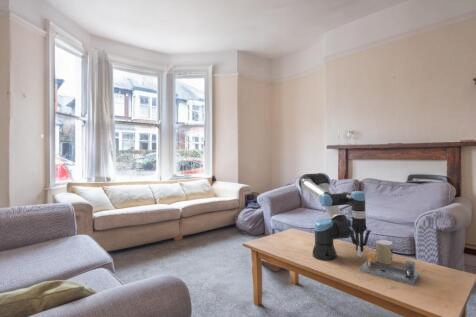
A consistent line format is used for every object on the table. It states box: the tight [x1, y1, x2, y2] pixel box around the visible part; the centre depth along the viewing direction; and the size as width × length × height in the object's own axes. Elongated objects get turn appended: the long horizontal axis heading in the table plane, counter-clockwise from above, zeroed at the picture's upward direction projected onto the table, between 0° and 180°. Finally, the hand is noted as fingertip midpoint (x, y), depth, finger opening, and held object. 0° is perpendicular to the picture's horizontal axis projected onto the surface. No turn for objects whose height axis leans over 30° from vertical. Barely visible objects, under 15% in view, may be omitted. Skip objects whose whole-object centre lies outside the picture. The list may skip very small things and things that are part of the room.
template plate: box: [359, 259, 419, 286], centre depth 147 cm, size 26×13×8 cm, turn 48°
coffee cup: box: [375, 239, 394, 265], centre depth 162 cm, size 9×9×12 cm
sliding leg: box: [366, 252, 378, 267], centre depth 154 cm, size 4×8×6 cm, turn 138°
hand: (360, 256), depth 159 cm, fingers closed
